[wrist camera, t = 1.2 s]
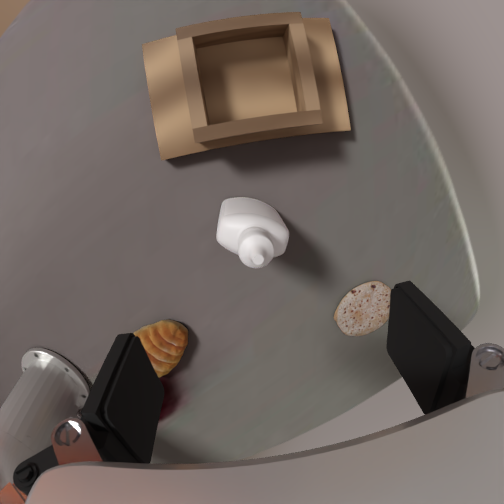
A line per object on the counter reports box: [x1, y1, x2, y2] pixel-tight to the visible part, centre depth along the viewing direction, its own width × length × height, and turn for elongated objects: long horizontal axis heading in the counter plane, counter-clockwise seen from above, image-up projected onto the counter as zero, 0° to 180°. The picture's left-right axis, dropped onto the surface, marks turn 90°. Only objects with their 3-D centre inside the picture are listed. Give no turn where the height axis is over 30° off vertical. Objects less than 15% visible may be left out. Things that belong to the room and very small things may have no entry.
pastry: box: [133, 319, 188, 377], centre depth 34 cm, size 9×7×4 cm
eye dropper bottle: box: [216, 197, 289, 268], centre depth 25 cm, size 4×6×12 cm
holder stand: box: [142, 12, 351, 160], centre depth 23 cm, size 12×18×5 cm, turn 100°
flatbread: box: [334, 281, 391, 336], centre depth 35 cm, size 8×8×1 cm
